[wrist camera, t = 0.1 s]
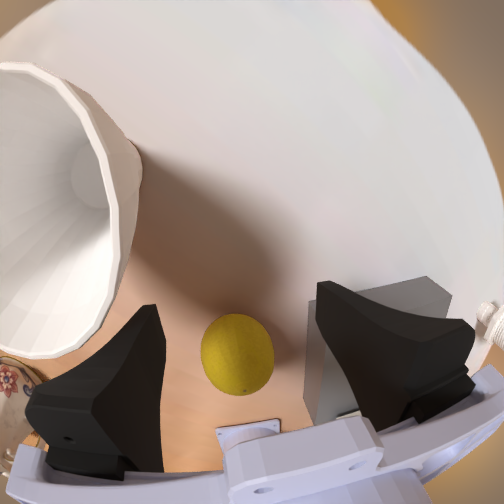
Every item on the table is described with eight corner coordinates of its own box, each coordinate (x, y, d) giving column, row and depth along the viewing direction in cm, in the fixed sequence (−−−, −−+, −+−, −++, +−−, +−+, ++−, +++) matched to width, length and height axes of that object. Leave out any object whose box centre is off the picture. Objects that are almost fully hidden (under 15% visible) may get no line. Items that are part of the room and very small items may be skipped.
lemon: (273, 326, 25) (299, 391, 18) (223, 355, 26) (233, 423, 19) (240, 284, 23) (258, 348, 16) (186, 317, 24) (184, 387, 16)
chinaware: (12, 418, 28) (-4, 494, 14) (-49, 349, 20) (-86, 433, 6) (145, 421, 31) (148, 535, 16) (77, 335, 23) (38, 497, 8)
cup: (76, 258, 20) (-10, 372, 8) (32, 141, 16) (-99, 166, 4) (193, 213, 21) (183, 326, 8) (149, 80, 16) (72, -3, 4)
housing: (387, 403, 35) (400, 423, 31) (299, 430, 33) (308, 456, 29) (426, 275, 27) (452, 295, 23) (308, 301, 25) (327, 330, 21)
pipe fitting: (498, 286, 31) (532, 310, 24) (484, 324, 34) (514, 350, 27) (479, 292, 30) (515, 320, 23) (463, 333, 33) (495, 363, 26)
